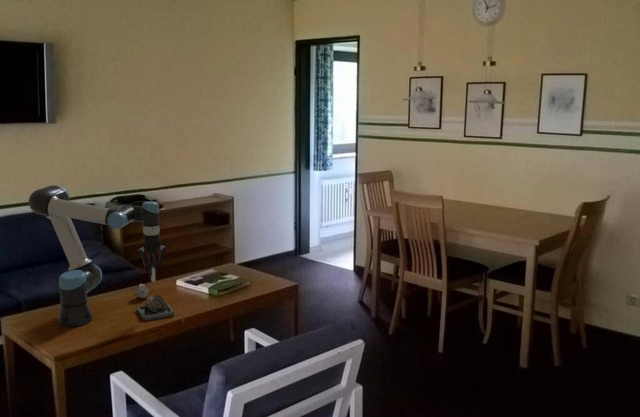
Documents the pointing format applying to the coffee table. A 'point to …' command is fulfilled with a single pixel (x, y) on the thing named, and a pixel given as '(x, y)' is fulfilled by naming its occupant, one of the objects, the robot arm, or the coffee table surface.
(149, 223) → the robot arm
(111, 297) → the coffee table surface
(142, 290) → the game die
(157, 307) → the fossil
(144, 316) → the tray
